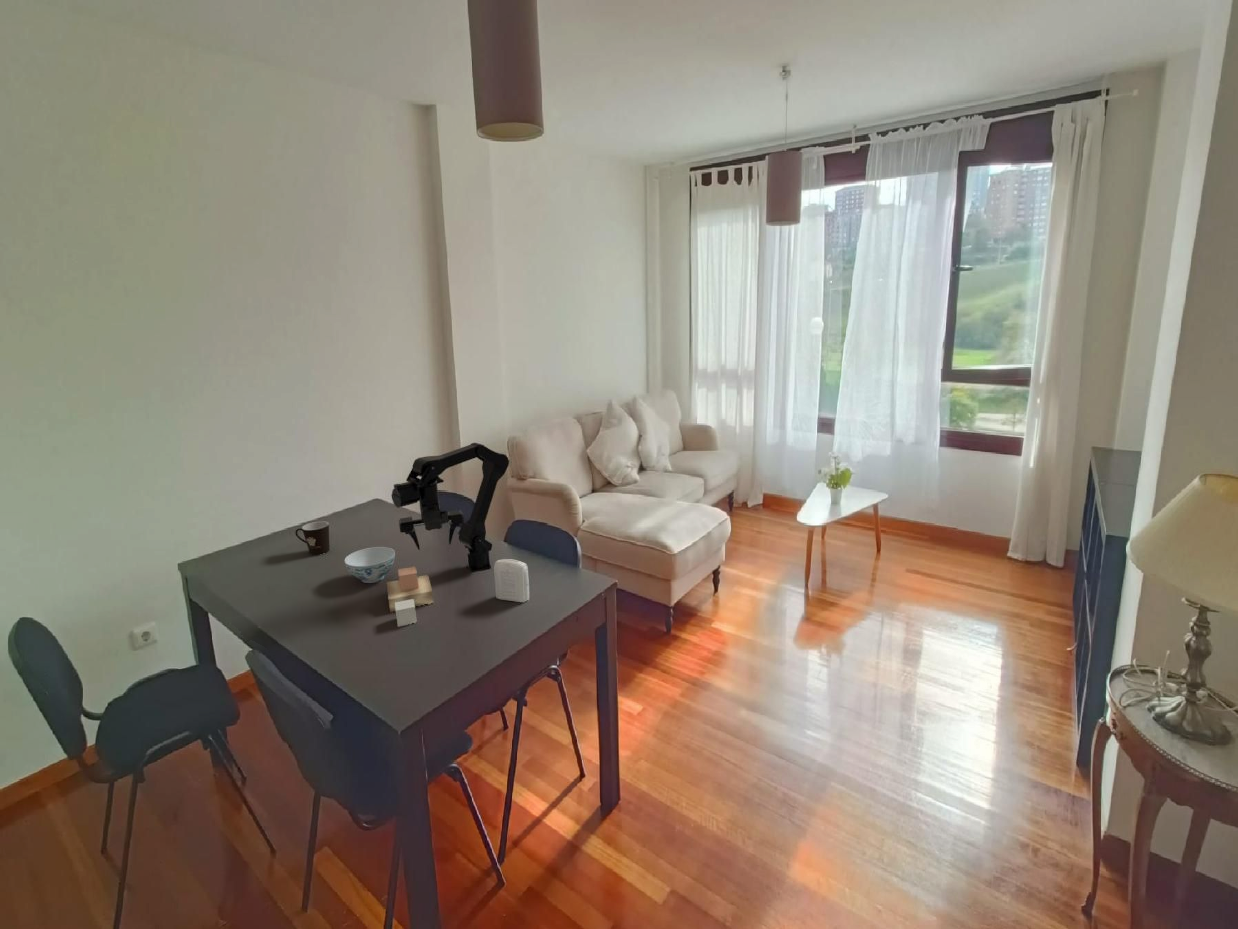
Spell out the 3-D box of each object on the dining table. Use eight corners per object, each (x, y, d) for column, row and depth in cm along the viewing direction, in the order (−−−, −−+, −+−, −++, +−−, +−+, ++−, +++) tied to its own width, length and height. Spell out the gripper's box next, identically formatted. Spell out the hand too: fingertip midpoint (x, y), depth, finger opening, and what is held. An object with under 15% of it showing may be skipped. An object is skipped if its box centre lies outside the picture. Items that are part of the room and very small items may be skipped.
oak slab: (429, 586, 190) (427, 574, 189) (433, 603, 179) (432, 591, 178) (388, 594, 186) (386, 582, 185) (390, 612, 175) (388, 599, 174)
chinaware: (385, 564, 207) (382, 543, 205) (406, 577, 197) (403, 555, 195) (340, 579, 197) (336, 556, 195) (359, 593, 187) (355, 570, 185)
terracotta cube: (417, 581, 185) (415, 566, 183) (418, 588, 180) (416, 572, 179) (399, 584, 183) (397, 569, 182) (400, 591, 178) (398, 576, 177)
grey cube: (415, 614, 174) (413, 598, 172) (417, 623, 169) (414, 606, 168) (396, 618, 172) (394, 602, 170) (397, 627, 167) (395, 610, 166)
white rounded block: (532, 597, 182) (529, 558, 178) (525, 604, 178) (522, 564, 174) (501, 593, 185) (497, 555, 181) (494, 599, 181) (490, 561, 178)
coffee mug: (338, 550, 220) (333, 523, 218) (315, 558, 213) (310, 531, 211) (319, 543, 226) (314, 518, 224) (296, 552, 219) (291, 525, 217)
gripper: (398, 511, 175) (404, 562, 179) (464, 502, 182) (469, 550, 186) (395, 500, 185) (402, 548, 189) (458, 491, 192) (463, 538, 196)
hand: (434, 546), depth 190 cm, fingers open, 9 cm apart
